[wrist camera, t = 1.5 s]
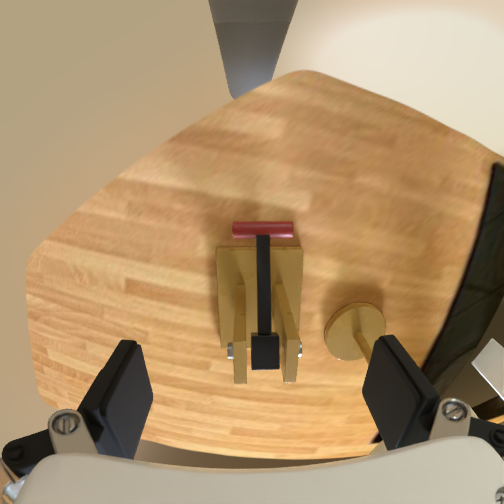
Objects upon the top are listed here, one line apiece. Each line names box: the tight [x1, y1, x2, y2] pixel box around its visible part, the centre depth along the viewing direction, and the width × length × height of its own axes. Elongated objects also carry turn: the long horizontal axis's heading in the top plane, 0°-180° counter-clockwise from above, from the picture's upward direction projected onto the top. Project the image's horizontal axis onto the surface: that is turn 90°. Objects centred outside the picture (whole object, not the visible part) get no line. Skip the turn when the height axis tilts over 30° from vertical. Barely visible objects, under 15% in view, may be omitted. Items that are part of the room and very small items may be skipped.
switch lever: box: [232, 221, 293, 370], centre depth 24 cm, size 12×5×2 cm, turn 0°
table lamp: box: [324, 302, 479, 455], centre depth 23 cm, size 10×10×25 cm
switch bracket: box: [216, 246, 304, 384], centre depth 27 cm, size 12×9×12 cm
